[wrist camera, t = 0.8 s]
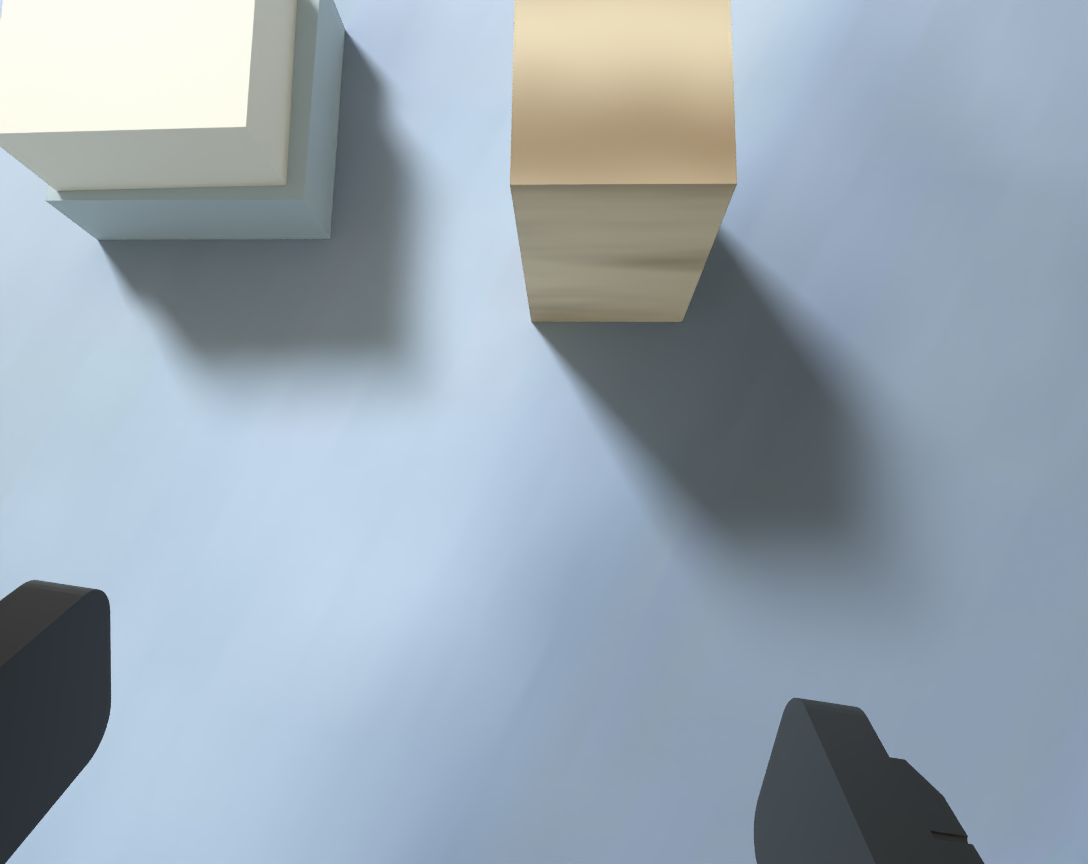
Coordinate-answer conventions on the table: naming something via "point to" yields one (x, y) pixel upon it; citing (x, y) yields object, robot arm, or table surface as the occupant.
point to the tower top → (148, 91)
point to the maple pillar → (620, 153)
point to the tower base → (245, 208)
